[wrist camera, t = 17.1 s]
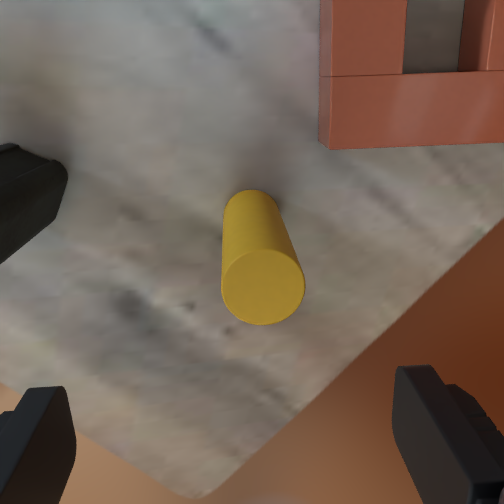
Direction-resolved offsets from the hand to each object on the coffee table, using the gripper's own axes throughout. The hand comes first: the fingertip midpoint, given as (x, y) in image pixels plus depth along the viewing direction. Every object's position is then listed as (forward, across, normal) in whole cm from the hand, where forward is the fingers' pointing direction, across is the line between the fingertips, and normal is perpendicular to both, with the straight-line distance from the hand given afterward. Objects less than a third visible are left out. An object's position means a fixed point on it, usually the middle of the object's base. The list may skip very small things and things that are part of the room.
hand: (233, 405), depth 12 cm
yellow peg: (+25, -2, +3) cm, 25 cm away
